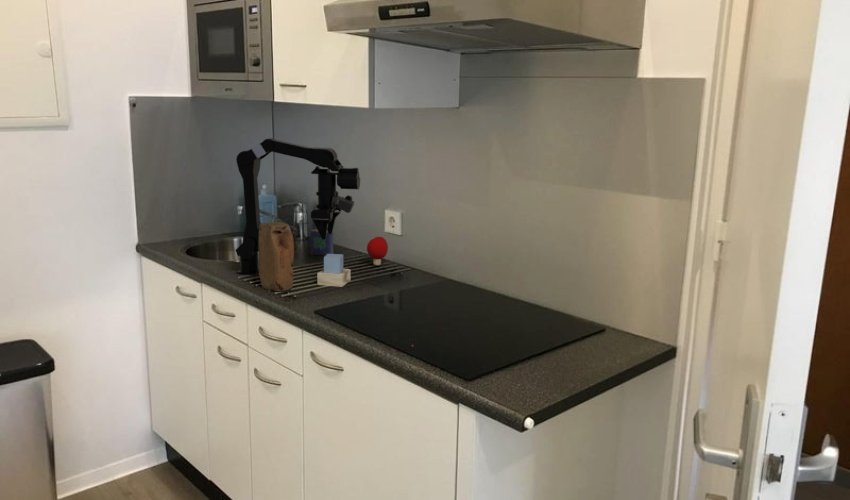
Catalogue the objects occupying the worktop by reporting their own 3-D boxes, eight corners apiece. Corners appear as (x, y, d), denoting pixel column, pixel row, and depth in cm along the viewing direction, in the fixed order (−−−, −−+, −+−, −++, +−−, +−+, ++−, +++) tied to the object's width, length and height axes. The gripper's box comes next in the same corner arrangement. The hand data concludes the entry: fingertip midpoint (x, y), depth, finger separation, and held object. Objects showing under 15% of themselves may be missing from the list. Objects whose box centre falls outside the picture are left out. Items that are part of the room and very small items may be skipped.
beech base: (326, 279, 218) (326, 267, 217) (350, 281, 216) (350, 269, 215) (317, 285, 210) (317, 273, 209) (341, 287, 208) (341, 275, 207)
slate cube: (327, 269, 214) (327, 253, 213) (343, 269, 214) (343, 254, 213) (324, 272, 209) (323, 257, 208) (339, 273, 209) (339, 257, 208)
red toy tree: (372, 262, 241) (372, 234, 239) (391, 264, 239) (391, 236, 237) (362, 268, 232) (363, 239, 230) (382, 270, 230) (382, 241, 228)
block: (257, 286, 206) (255, 221, 202) (278, 282, 211) (277, 219, 207) (276, 294, 198) (275, 227, 194) (298, 289, 204) (297, 224, 199)
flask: (334, 254, 251) (334, 226, 248) (331, 256, 248) (330, 227, 246) (311, 252, 253) (311, 224, 251) (308, 254, 251) (307, 225, 248)
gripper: (346, 193, 205) (346, 243, 208) (357, 185, 223) (357, 232, 226) (310, 191, 206) (310, 242, 209) (324, 184, 224) (324, 230, 227)
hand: (327, 236), depth 218 cm, fingers open, 9 cm apart
